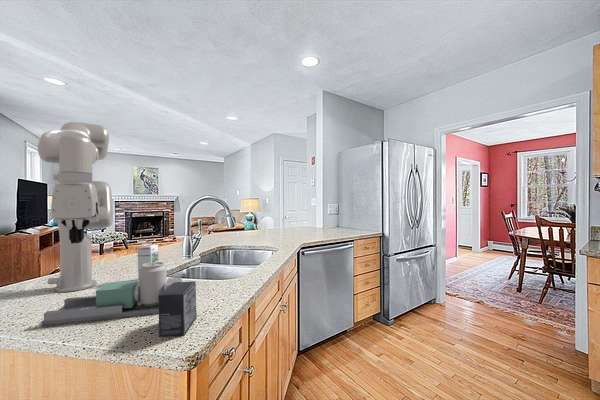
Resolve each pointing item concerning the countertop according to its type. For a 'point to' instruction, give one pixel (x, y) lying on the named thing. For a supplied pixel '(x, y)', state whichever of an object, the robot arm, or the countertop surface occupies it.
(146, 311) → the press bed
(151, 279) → the can
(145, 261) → the syrup box
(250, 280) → the countertop surface
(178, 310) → the small box
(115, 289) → the block
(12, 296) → the countertop surface
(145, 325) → the countertop surface
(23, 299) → the countertop surface
